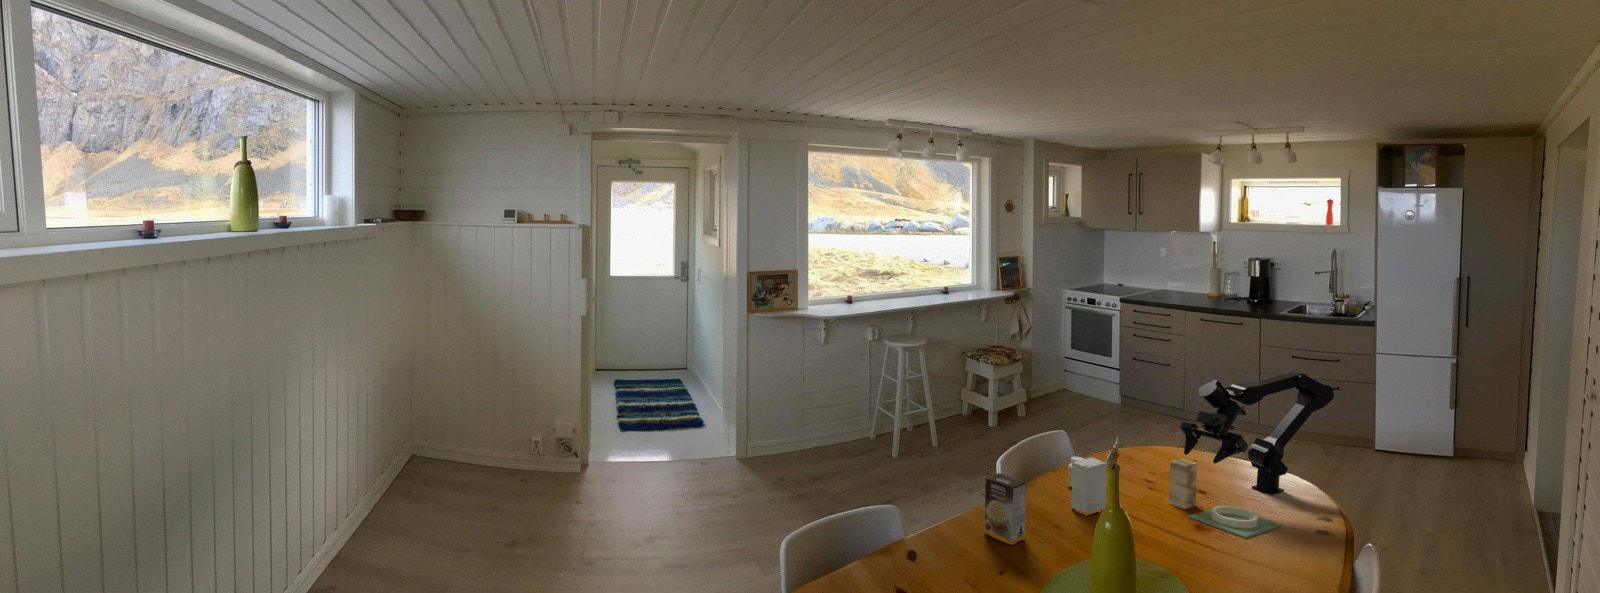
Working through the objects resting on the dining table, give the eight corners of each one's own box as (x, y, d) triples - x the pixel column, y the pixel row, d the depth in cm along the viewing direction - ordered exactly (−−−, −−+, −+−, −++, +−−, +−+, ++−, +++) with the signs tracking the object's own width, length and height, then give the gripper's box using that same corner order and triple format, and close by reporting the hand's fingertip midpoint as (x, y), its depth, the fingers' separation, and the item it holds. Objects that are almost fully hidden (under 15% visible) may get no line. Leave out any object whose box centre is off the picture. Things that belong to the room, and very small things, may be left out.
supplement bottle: (1064, 487, 230) (1065, 458, 230) (1073, 483, 234) (1074, 454, 233) (1080, 492, 226) (1081, 462, 225) (1089, 488, 230) (1089, 458, 229)
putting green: (1224, 506, 213) (1224, 498, 213) (1280, 526, 199) (1281, 517, 199) (1188, 517, 206) (1189, 508, 206) (1245, 538, 192) (1245, 529, 191)
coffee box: (983, 535, 196) (983, 477, 194) (997, 528, 200) (998, 472, 198) (1011, 546, 189) (1012, 486, 187) (1026, 540, 192) (1027, 481, 191)
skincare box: (1090, 505, 216) (1091, 456, 214) (1107, 512, 210) (1108, 462, 209) (1069, 510, 212) (1070, 460, 211) (1086, 517, 207) (1087, 466, 205)
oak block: (1179, 500, 218) (1181, 458, 217) (1195, 506, 214) (1197, 463, 213) (1169, 503, 216) (1170, 461, 215) (1184, 509, 212) (1186, 466, 211)
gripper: (1184, 395, 226) (1159, 434, 222) (1243, 408, 210) (1218, 451, 206) (1199, 416, 231) (1175, 455, 227) (1258, 431, 214) (1234, 473, 210)
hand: (1199, 458), depth 217 cm, fingers open, 9 cm apart
